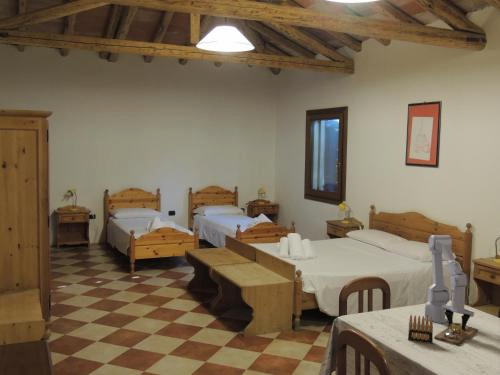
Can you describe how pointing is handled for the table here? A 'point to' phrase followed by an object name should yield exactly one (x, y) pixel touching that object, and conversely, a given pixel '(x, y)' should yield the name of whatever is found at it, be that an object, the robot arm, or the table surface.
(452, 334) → the mounted gears
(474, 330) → the gear board
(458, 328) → the wooden gear
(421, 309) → the table surface
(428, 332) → the ammunition clip
